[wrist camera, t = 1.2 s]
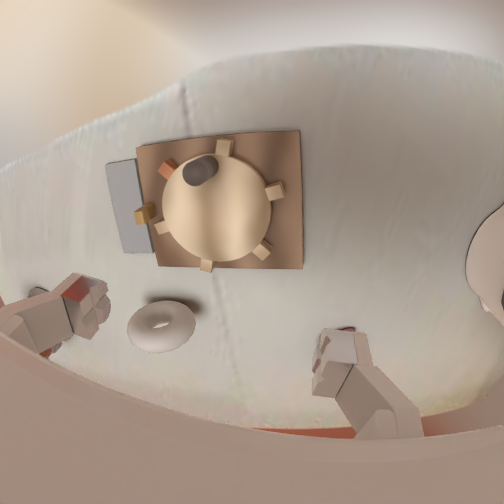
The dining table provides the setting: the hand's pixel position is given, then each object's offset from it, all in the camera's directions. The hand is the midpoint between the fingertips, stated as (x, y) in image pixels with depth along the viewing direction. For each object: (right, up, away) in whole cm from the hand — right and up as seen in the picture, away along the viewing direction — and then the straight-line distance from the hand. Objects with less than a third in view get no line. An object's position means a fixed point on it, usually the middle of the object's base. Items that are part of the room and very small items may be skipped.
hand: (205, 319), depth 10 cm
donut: (-10, -5, +33) cm, 35 cm away
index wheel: (-2, +8, +23) cm, 24 cm away
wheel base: (-2, +8, +25) cm, 26 cm away
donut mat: (-15, +8, +27) cm, 32 cm away
